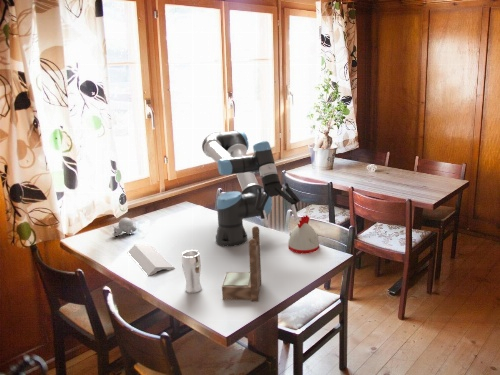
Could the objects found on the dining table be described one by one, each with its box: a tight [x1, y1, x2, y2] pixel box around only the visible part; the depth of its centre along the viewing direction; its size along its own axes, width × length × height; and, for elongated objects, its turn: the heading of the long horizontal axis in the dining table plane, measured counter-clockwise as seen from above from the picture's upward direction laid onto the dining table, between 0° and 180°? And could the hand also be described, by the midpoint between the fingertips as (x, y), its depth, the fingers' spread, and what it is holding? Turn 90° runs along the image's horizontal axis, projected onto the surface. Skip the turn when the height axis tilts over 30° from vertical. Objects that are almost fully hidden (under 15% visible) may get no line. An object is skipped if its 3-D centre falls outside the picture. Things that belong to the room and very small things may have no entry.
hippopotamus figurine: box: [111, 217, 138, 237], centre depth 239 cm, size 7×12×8 cm, turn 125°
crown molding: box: [128, 244, 176, 276], centre depth 209 cm, size 29×12×4 cm, turn 30°
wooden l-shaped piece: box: [221, 225, 262, 303], centre depth 175 cm, size 13×15×24 cm
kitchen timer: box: [287, 214, 320, 255], centre depth 214 cm, size 14×14×15 cm
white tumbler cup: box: [181, 249, 202, 294], centre depth 180 cm, size 7×7×15 cm
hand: (281, 222), depth 200 cm, fingers open, 13 cm apart
